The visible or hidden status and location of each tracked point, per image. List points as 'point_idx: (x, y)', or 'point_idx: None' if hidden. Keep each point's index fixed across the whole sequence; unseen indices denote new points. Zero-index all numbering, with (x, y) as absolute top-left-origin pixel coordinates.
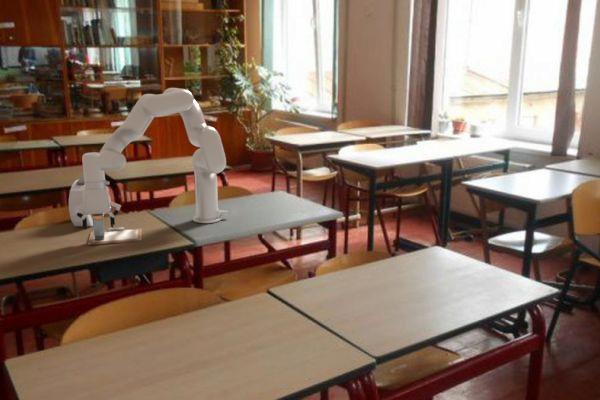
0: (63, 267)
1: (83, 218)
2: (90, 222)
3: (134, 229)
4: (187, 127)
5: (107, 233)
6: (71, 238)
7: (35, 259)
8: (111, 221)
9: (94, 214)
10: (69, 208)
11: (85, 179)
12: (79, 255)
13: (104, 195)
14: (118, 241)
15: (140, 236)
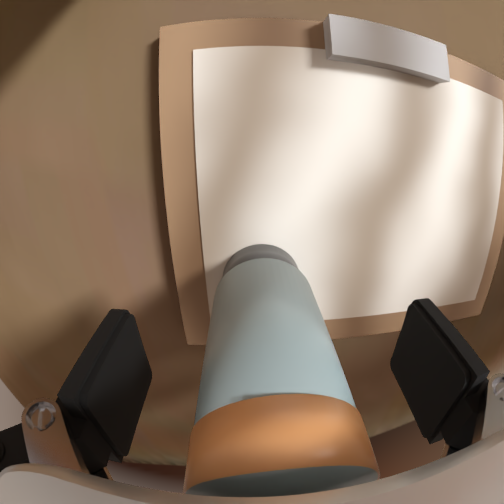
0: (168, 463)
1: (93, 465)
2: None
3: (487, 88)
4: None
5: (320, 116)
6: (45, 135)
7: (44, 388)
8: (419, 411)
9: (220, 492)
10: None
11: None
12: (184, 418)
13: None
14: (383, 332)
15: (494, 260)
